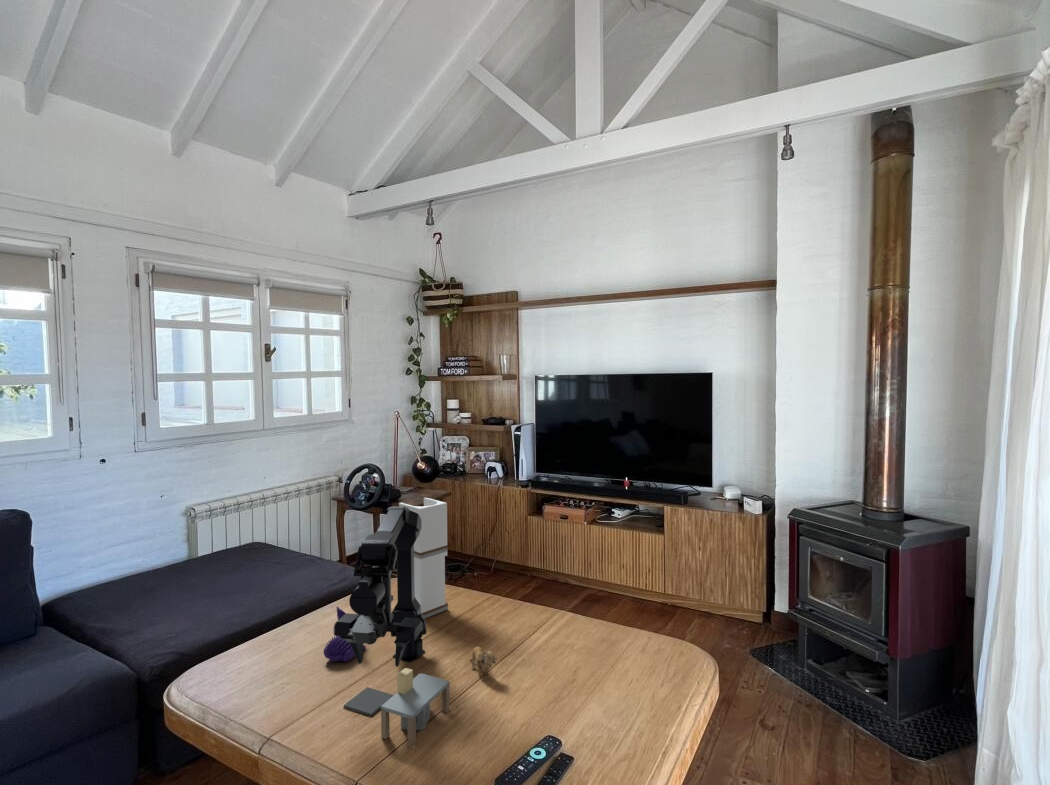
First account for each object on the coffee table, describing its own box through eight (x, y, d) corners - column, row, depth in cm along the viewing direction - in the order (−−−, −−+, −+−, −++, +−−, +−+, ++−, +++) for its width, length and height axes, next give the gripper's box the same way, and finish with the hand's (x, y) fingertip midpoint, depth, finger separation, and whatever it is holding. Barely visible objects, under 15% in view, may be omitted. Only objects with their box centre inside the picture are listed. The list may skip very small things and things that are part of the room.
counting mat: (343, 707, 127) (343, 705, 127) (367, 689, 135) (367, 687, 135) (371, 716, 124) (371, 713, 124) (393, 697, 131) (393, 694, 131)
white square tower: (448, 609, 180) (446, 502, 179) (421, 619, 172) (419, 508, 171) (427, 599, 188) (425, 497, 187) (400, 609, 180) (398, 503, 179)
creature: (379, 640, 159) (378, 599, 159) (340, 673, 142) (339, 626, 142) (353, 636, 162) (352, 595, 162) (312, 667, 145) (311, 622, 145)
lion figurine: (499, 680, 138) (499, 652, 138) (484, 686, 136) (484, 657, 136) (477, 660, 148) (476, 633, 148) (462, 664, 146) (462, 637, 146)
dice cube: (408, 715, 125) (408, 693, 124) (430, 716, 124) (429, 695, 124) (401, 729, 120) (400, 707, 119) (423, 731, 119) (423, 708, 119)
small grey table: (381, 737, 117) (380, 687, 116) (420, 701, 129) (420, 656, 129) (412, 748, 113) (411, 696, 113) (449, 710, 126) (449, 663, 126)
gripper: (319, 608, 116) (321, 680, 117) (404, 613, 113) (405, 688, 114) (345, 587, 127) (346, 654, 128) (422, 592, 124) (423, 660, 125)
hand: (378, 664), depth 123 cm, fingers open, 8 cm apart
